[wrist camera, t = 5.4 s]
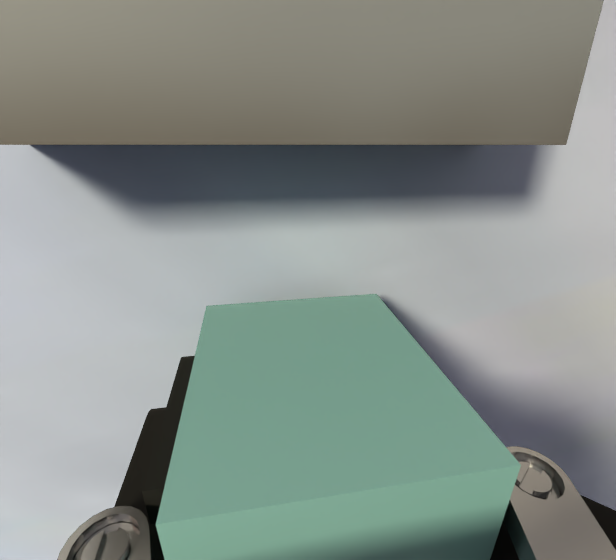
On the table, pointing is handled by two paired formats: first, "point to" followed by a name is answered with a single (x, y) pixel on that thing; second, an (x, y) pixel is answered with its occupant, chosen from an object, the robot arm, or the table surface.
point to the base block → (292, 71)
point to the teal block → (327, 443)
